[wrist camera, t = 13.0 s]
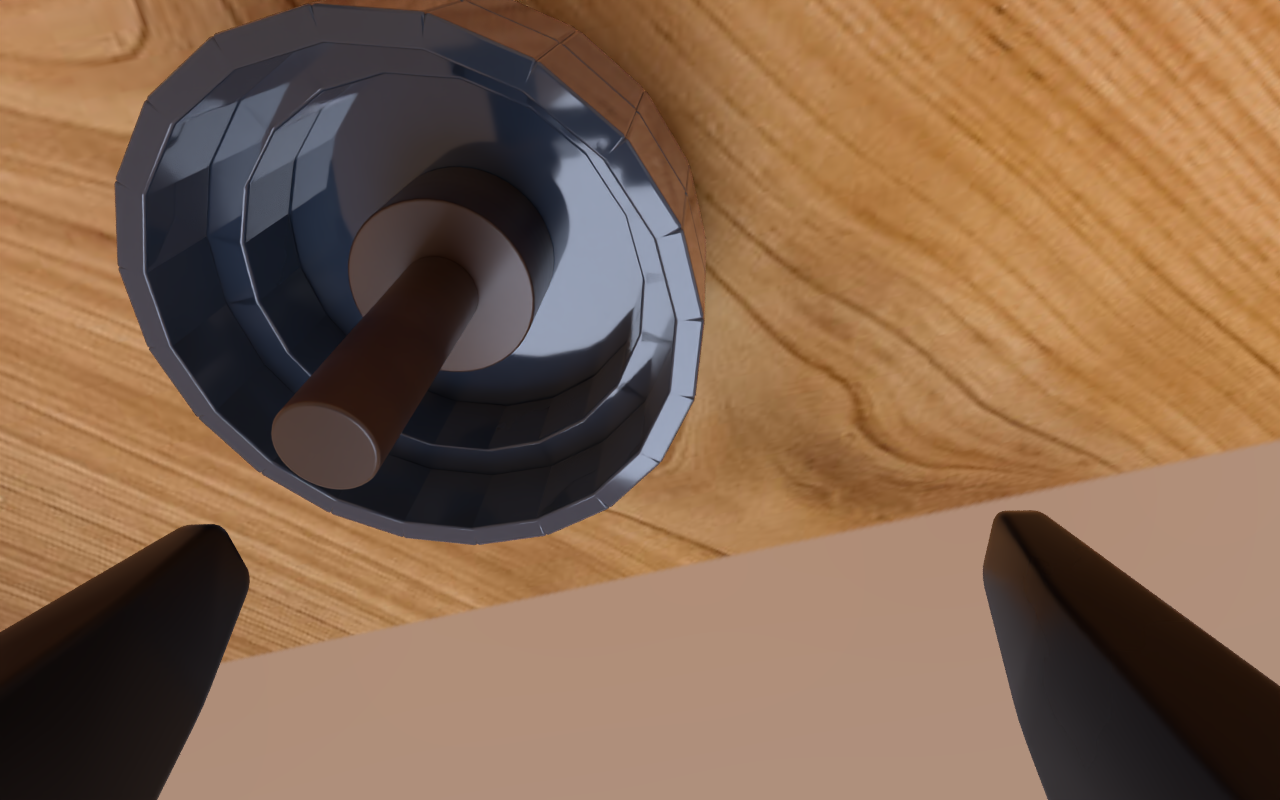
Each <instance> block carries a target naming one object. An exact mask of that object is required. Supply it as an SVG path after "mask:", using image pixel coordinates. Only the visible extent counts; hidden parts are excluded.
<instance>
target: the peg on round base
mask: <svg viewBox="0 0 1280 800" xmlns="http://www.w3.org/2000/svg"><path fill="white" fill-rule="evenodd" d="M553 265H554V256H553V247H552V243H551V239H550V235H549V233H548V230H547V227H546V225H545V223H544V221H543V219H542V218H541V216H540V214H539V213H538V211H537V210H536V208H535V207H534V206H533V205H532V203H531V202H530V201H529V200H528V199H527V198H526V197H525V196H524V195H523V194H522V193H521V192H520V191H519V190H517V189H516V188H515V187H513V186H512V185H510V184H509V183H508V182H506V181H504V180H502V179H501V178H499V177H497V176H495V175H492V174H490V173H487V172H484V171H481V170H477V169H473V168H465V167H447V168H441V169H436V170H433V171H430V172H427V173H425V174H423V175H421V176H419V177H417V178H416V179H414V180H413V181H412V182H410V183H409V184H408V185H407V186H405V187H404V188H403V189H402V190H401V191H400V192H398V193H397V194H396V195H395V196H394V197H392V198H391V199H390V200H389V201H388V202H387V203H385V204H384V205H383V206H382V207H381V208H380V209H378V210H377V211H376V212H375V213H374V214H373V215H371V216H370V217H369V218H368V219H367V220H366V221H365V222H364V224H363V225H362V226H361V228H360V229H359V230H358V232H357V234H356V236H355V238H354V240H353V243H352V246H351V249H350V253H349V260H348V278H349V285H350V289H351V292H352V296H353V299H354V301H355V304H356V306H357V308H358V310H359V312H360V314H361V315H362V317H363V318H362V319H361V320H360V321H359V323H358V324H357V325H356V326H355V327H354V328H353V329H352V330H351V332H350V333H349V334H348V335H347V336H346V337H345V338H344V339H343V341H342V342H341V343H340V344H339V345H338V346H337V347H336V348H335V350H334V351H333V352H332V353H331V354H330V355H329V356H328V357H327V359H326V360H325V361H324V362H323V363H322V364H321V365H320V366H319V367H318V369H317V370H316V371H315V372H314V373H313V374H312V375H311V376H310V378H309V379H308V380H307V381H306V382H305V383H304V384H303V385H302V387H301V388H300V389H299V390H298V391H297V392H296V393H295V394H294V396H293V397H292V398H291V399H290V400H289V401H288V402H287V403H286V405H285V406H284V407H283V408H282V409H281V410H280V411H279V413H278V414H277V415H276V417H275V419H274V421H273V424H272V431H271V436H272V442H273V445H274V448H275V450H276V452H277V454H278V456H279V457H280V458H281V460H282V461H283V462H284V463H285V464H286V466H287V467H289V468H290V469H291V470H292V471H293V472H294V473H296V474H297V475H298V476H300V477H301V478H303V479H305V480H307V481H309V482H311V483H313V484H316V485H319V486H322V487H325V488H330V489H351V488H356V487H359V486H361V485H363V484H365V483H367V482H368V481H370V480H371V479H372V478H373V477H374V476H375V475H376V473H377V472H378V470H379V469H380V467H381V465H382V464H383V462H384V461H385V459H386V457H387V456H388V454H389V452H390V451H391V449H392V447H393V446H394V444H395V443H396V441H397V439H398V438H399V436H400V434H401V433H402V431H403V430H404V428H405V426H406V425H407V423H408V421H409V420H410V418H411V416H412V415H413V413H414V412H415V410H416V408H417V407H418V405H419V403H420V402H421V400H422V399H423V397H424V395H425V394H426V392H427V390H428V389H429V387H430V385H431V384H432V382H433V381H434V379H435V377H436V376H437V374H438V372H439V371H440V370H441V371H449V372H468V371H475V370H480V369H484V368H487V367H489V366H492V365H495V364H497V363H498V362H500V361H502V360H504V359H505V358H507V357H508V356H509V355H511V354H512V353H513V352H514V351H515V350H516V349H517V348H518V347H519V346H520V344H521V343H522V342H523V340H524V339H525V337H526V335H527V333H528V331H529V329H530V327H531V325H532V323H533V321H534V318H535V316H536V314H537V312H538V310H539V307H540V305H541V303H542V301H543V298H544V296H545V294H546V292H547V290H548V287H549V285H550V281H551V278H552V273H553Z"/></svg>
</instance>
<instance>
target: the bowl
mask: <svg viewBox="0 0 1280 800" xmlns="http://www.w3.org/2000/svg"><path fill="white" fill-rule="evenodd" d="M447 167H465V168H473V169H477V170H481V171H484V172H487V173H490V174H492V175H495V176H497V177H499V178H501V179H502V180H504V181H506V182H508V183H509V184H510V185H512V186H513V187H515V188H516V189H517V190H519V191H520V192H521V193H522V194H523V195H524V196H525V197H526V198H527V199H528V200H529V201H530V202H531V203H532V205H533V206H534V207H535V208H536V210H537V211H538V213H539V214H540V216H541V218H542V219H543V221H544V223H545V225H546V227H547V230H548V233H549V235H550V239H551V243H552V247H553V256H554V265H553V273H552V278H551V281H550V285H549V287H548V290H547V292H546V294H545V296H544V298H543V301H542V303H541V305H540V307H539V310H538V312H537V314H536V316H535V318H534V321H533V323H532V325H531V327H530V329H529V331H528V333H527V335H526V337H525V339H524V340H523V342H522V343H521V344H520V346H519V347H518V348H517V349H516V350H515V351H514V352H513V353H512V354H511V355H509V356H508V357H507V358H505V359H504V360H502V361H500V362H498V363H497V364H495V365H492V366H489V367H487V368H484V369H480V370H475V371H468V372H449V371H441V370H440V371H439V372H438V374H437V376H436V377H435V379H434V381H433V382H432V384H431V385H430V387H429V389H428V390H427V392H426V394H425V395H424V397H423V399H422V400H421V402H420V403H419V405H418V407H417V408H416V410H415V412H414V413H413V415H412V416H411V418H410V420H409V421H408V423H407V425H406V426H405V428H404V430H403V431H402V433H401V434H400V436H399V438H398V439H397V441H396V443H395V444H394V446H393V447H392V449H391V451H390V452H389V454H388V456H387V457H386V459H385V461H384V462H383V464H382V465H381V467H380V469H379V470H378V472H377V473H376V475H375V476H374V477H373V478H372V479H371V480H370V481H368V482H367V483H365V484H363V485H361V486H359V487H356V488H351V489H330V488H325V487H322V486H319V485H316V484H313V483H311V482H309V481H307V480H305V479H303V478H301V477H300V476H298V475H297V474H296V473H294V472H293V471H292V470H291V469H290V468H289V467H287V466H286V464H285V463H284V462H283V461H282V460H281V458H280V457H279V456H278V454H277V452H276V450H275V448H274V445H273V442H272V436H271V431H272V424H273V421H274V419H275V417H276V415H277V414H278V413H279V411H280V410H281V409H282V408H283V407H284V406H285V405H286V403H287V402H288V401H289V400H290V399H291V398H292V397H293V396H294V394H295V393H296V392H297V391H298V390H299V389H300V388H301V387H302V385H303V384H304V383H305V382H306V381H307V380H308V379H309V378H310V376H311V375H312V374H313V373H314V372H315V371H316V370H317V369H318V367H319V366H320V365H321V364H322V363H323V362H324V361H325V360H326V359H327V357H328V356H329V355H330V354H331V353H332V352H333V351H334V350H335V348H336V347H337V346H338V345H339V344H340V343H341V342H342V341H343V339H344V338H345V337H346V336H347V335H348V334H349V333H350V332H351V330H352V329H353V328H354V327H355V326H356V325H357V324H358V323H359V321H360V320H361V319H362V318H363V317H362V315H361V314H360V312H359V310H358V308H357V306H356V304H355V301H354V299H353V296H352V292H351V289H350V285H349V278H348V260H349V253H350V249H351V246H352V243H353V240H354V238H355V236H356V234H357V232H358V230H359V229H360V228H361V226H362V225H363V224H364V222H365V221H366V220H367V219H368V218H369V217H370V216H371V215H373V214H374V213H375V212H376V211H377V210H378V209H380V208H381V207H382V206H383V205H384V204H385V203H387V202H388V201H389V200H390V199H391V198H392V197H394V196H395V195H396V194H397V193H398V192H400V191H401V190H402V189H403V188H404V187H405V186H407V185H408V184H409V183H410V182H412V181H413V180H414V179H416V178H417V177H419V176H421V175H423V174H425V173H427V172H430V171H433V170H436V169H441V168H447ZM116 180H117V181H116V182H115V207H116V234H117V260H118V266H119V272H120V274H121V277H122V280H123V282H124V285H125V288H126V291H127V293H128V296H129V299H130V301H131V304H132V307H133V309H134V312H135V315H136V317H137V320H138V323H139V325H140V328H141V331H142V333H143V336H144V339H145V341H146V344H147V346H148V347H149V350H150V352H151V353H152V354H153V356H154V357H155V359H156V360H157V361H158V363H159V364H160V366H161V367H162V368H163V370H164V371H165V373H166V374H167V375H168V377H169V378H170V380H171V381H172V383H173V384H174V385H175V387H176V388H177V390H178V391H179V392H180V394H181V395H182V397H183V398H184V399H185V401H186V402H187V404H188V405H189V406H190V408H191V409H192V411H193V412H194V413H195V415H196V416H197V417H199V419H200V420H201V421H202V422H203V423H204V424H205V425H206V426H208V427H209V428H210V429H211V430H212V431H213V432H214V433H215V434H216V435H218V436H219V437H220V438H221V439H222V440H223V441H224V442H225V443H227V444H228V445H229V446H230V447H231V448H232V449H233V450H234V451H236V452H237V453H238V454H239V455H240V456H241V457H242V458H243V459H244V460H246V461H247V462H248V463H249V464H250V465H251V466H252V467H253V468H255V469H256V470H257V471H258V472H262V474H263V475H264V476H266V477H268V478H269V479H271V480H273V481H275V482H276V483H278V484H280V485H282V486H283V487H285V488H287V489H289V490H290V491H292V492H294V493H296V494H297V495H299V496H301V497H302V498H304V499H306V500H308V501H309V502H311V503H313V504H315V505H316V506H318V507H320V508H322V509H323V510H325V511H327V512H331V513H332V514H333V515H337V516H340V517H343V518H346V519H349V520H352V521H355V522H358V523H361V524H364V525H367V526H370V527H373V528H376V529H379V530H382V531H385V532H388V533H391V534H394V535H397V536H400V537H403V536H404V537H405V538H412V539H422V540H431V541H441V542H451V543H460V544H470V545H476V544H479V545H481V544H488V543H495V542H503V541H510V540H517V539H525V538H532V537H539V536H545V535H546V534H547V535H549V534H551V533H554V532H556V531H558V530H561V529H563V528H565V527H567V526H570V525H572V524H574V523H577V522H579V521H581V520H584V519H586V518H588V517H590V516H593V515H595V514H597V513H600V512H602V511H604V510H606V509H608V508H609V507H611V506H613V505H614V504H615V503H616V502H617V501H618V500H619V499H620V498H622V497H623V496H624V495H625V494H626V493H627V492H628V491H629V490H630V489H632V488H633V487H634V486H635V485H636V484H637V483H638V482H639V481H641V480H642V479H643V478H644V477H645V476H646V475H647V474H648V473H649V472H651V471H652V470H653V469H654V468H655V467H656V466H657V465H658V464H659V463H660V462H661V461H662V460H663V458H664V457H665V455H666V453H667V451H668V449H669V447H670V445H671V443H672V441H673V440H674V438H675V436H676V434H677V432H678V430H679V428H680V426H681V424H682V423H683V421H684V419H685V417H686V415H687V413H688V411H689V409H690V407H691V405H692V404H693V402H694V397H695V395H696V388H697V380H698V371H699V363H700V354H701V346H702V338H703V329H704V319H705V274H706V236H705V231H704V227H703V222H702V218H701V213H700V209H699V204H698V200H697V195H696V191H695V186H694V182H693V177H692V172H691V168H690V165H688V161H687V159H686V157H685V155H684V154H683V152H682V150H681V149H680V147H679V145H678V144H677V142H676V140H675V138H674V137H673V135H672V133H671V132H670V130H669V128H668V127H667V125H666V123H665V121H664V120H663V118H662V116H661V115H660V113H659V111H658V110H657V108H656V106H655V104H654V103H653V101H652V99H651V98H650V96H649V94H648V93H647V92H646V91H644V89H643V87H642V86H641V85H640V84H638V83H637V82H636V81H635V80H634V79H633V78H632V77H631V76H630V75H628V74H627V73H626V72H625V71H624V70H623V69H622V68H621V67H619V66H618V65H617V64H616V63H615V62H614V61H613V60H612V59H611V58H609V57H608V56H607V55H606V54H605V53H604V52H603V51H602V50H601V49H599V48H598V47H597V46H596V45H595V44H594V43H593V42H592V41H590V40H589V39H588V38H587V37H586V36H585V35H584V34H583V33H582V32H580V31H576V29H575V28H574V27H573V26H571V25H568V24H566V23H564V22H561V21H559V20H557V19H555V18H552V17H550V16H548V15H546V14H543V13H541V12H539V11H537V10H534V9H532V8H530V7H527V6H525V5H523V4H521V3H518V2H516V1H514V0H322V1H317V2H312V3H307V4H304V5H301V6H298V7H295V8H292V9H289V10H286V11H283V12H279V13H276V14H273V15H270V16H267V17H264V18H261V19H258V20H255V21H252V22H249V23H246V24H243V25H240V26H237V27H234V28H230V29H227V30H224V31H221V32H218V33H215V35H214V36H212V37H209V38H208V39H207V40H206V41H205V42H204V43H203V44H202V45H201V46H200V47H199V48H198V49H197V50H196V51H195V52H194V53H193V54H192V55H191V56H189V57H188V58H187V59H186V60H185V61H184V62H183V63H182V64H181V65H180V66H179V67H178V68H177V69H176V70H175V71H174V72H173V73H172V74H171V75H170V76H168V77H167V78H166V79H165V80H164V81H163V82H162V83H161V84H160V85H159V86H158V87H157V88H156V89H155V90H154V91H153V92H152V93H151V94H150V95H149V96H148V97H147V100H146V101H145V102H144V104H143V107H142V109H141V112H140V115H139V117H138V120H137V123H136V125H135V128H134V131H133V133H132V136H131V139H130V142H129V144H128V147H127V150H126V152H125V155H124V158H123V160H122V163H121V166H120V168H119V171H118V174H117V176H116Z"/></svg>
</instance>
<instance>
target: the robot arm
mask: <svg viewBox="0 0 1280 800" xmlns="http://www.w3.org/2000/svg"><path fill="white" fill-rule="evenodd" d="M983 581H984V586H985V591H986V595H987V599H988V603H989V607H990V611H991V615H992V619H993V623H994V627H995V630H996V635H997V639H998V642H999V646H1000V650H1001V654H1002V658H1003V662H1004V666H1005V670H1006V674H1007V678H1008V682H1009V686H1010V690H1011V694H1012V698H1013V701H1014V705H1015V709H1016V712H1017V716H1018V720H1019V723H1020V725H1021V728H1022V731H1023V734H1024V737H1025V740H1026V743H1027V745H1028V748H1029V751H1030V753H1031V756H1032V759H1033V761H1034V764H1035V767H1036V769H1037V772H1038V775H1039V777H1040V780H1041V783H1042V785H1043V788H1044V790H1045V793H1046V796H1047V799H1048V800H1280V686H1279V685H1277V684H1276V683H1275V682H1273V681H1272V680H1271V679H1269V678H1268V677H1267V676H1265V675H1264V674H1263V673H1261V672H1260V671H1258V670H1257V669H1256V668H1254V667H1253V666H1252V665H1250V664H1249V663H1247V662H1246V661H1245V660H1243V659H1242V658H1240V657H1239V656H1238V655H1236V654H1235V653H1234V652H1232V651H1231V650H1230V649H1228V648H1227V647H1225V646H1224V645H1223V644H1222V643H1220V642H1219V641H1217V640H1216V639H1215V638H1213V637H1212V636H1211V635H1209V634H1208V633H1206V632H1205V631H1203V630H1202V629H1201V628H1199V627H1198V626H1197V625H1196V624H1194V623H1193V622H1191V621H1190V620H1189V619H1187V618H1186V617H1184V616H1183V615H1182V614H1180V613H1179V612H1178V611H1176V610H1175V609H1174V608H1172V607H1171V606H1169V605H1168V604H1167V603H1165V602H1164V601H1163V600H1161V599H1160V598H1158V597H1157V596H1156V595H1154V594H1153V593H1152V592H1150V591H1149V590H1148V589H1146V588H1145V587H1144V586H1142V585H1141V584H1139V583H1138V582H1137V581H1135V580H1134V579H1132V578H1131V577H1130V576H1128V575H1127V574H1126V573H1124V572H1123V571H1122V570H1120V569H1119V568H1117V567H1116V566H1115V565H1113V564H1112V563H1111V562H1109V561H1108V560H1106V559H1105V558H1104V557H1103V556H1101V555H1100V554H1098V553H1097V552H1096V551H1094V550H1093V549H1092V548H1090V547H1089V546H1088V545H1086V544H1085V543H1083V542H1082V541H1081V540H1079V539H1078V538H1077V537H1075V536H1074V535H1072V534H1071V533H1070V532H1068V531H1067V530H1066V529H1064V528H1063V527H1062V526H1060V525H1059V524H1057V523H1056V522H1055V521H1053V520H1052V519H1050V518H1049V517H1048V516H1046V515H1045V514H1043V513H1041V512H1038V511H1032V510H1029V511H1002V512H1000V513H998V514H997V515H996V517H995V519H994V521H993V524H992V529H991V533H990V538H989V543H988V546H987V551H986V555H985V560H984V565H983ZM249 583H250V579H249V572H248V569H247V567H246V565H245V564H244V562H243V560H242V558H241V556H240V555H239V553H238V551H237V549H236V548H235V546H234V544H233V542H232V540H231V539H230V537H229V535H228V533H227V532H226V531H225V529H223V528H222V527H220V526H219V525H215V524H199V525H186V526H183V527H180V528H178V529H176V530H175V531H173V532H171V533H170V534H168V535H166V536H164V537H163V538H161V539H159V540H158V541H156V542H154V543H152V544H151V545H149V546H147V547H146V548H144V549H142V550H140V551H139V552H137V553H135V554H134V555H132V556H130V557H128V558H127V559H125V560H123V561H122V562H120V563H118V564H116V565H115V566H113V567H111V568H110V569H108V570H106V571H104V572H103V573H101V574H99V575H98V576H96V577H94V578H92V579H91V580H89V581H87V582H86V583H84V584H82V585H80V586H79V587H77V588H75V589H74V590H72V591H70V592H68V593H67V594H65V595H63V596H62V597H60V598H58V599H56V600H55V601H53V602H51V603H50V604H48V605H46V606H44V607H43V608H41V609H39V610H38V611H36V612H34V613H32V614H31V615H29V616H27V617H26V618H24V619H22V620H20V621H19V622H17V623H15V624H14V625H12V626H10V627H8V628H7V629H5V630H3V631H2V632H0V800H157V799H158V797H159V795H160V793H161V791H162V789H163V787H164V785H165V783H166V781H167V779H168V777H169V775H170V773H171V771H172V769H173V767H174V765H175V763H176V761H177V759H178V757H179V755H180V752H181V751H182V749H183V747H184V745H185V743H186V741H187V739H188V737H189V735H190V733H191V731H192V729H193V727H194V724H195V722H196V720H197V718H198V716H199V714H200V712H201V709H202V707H203V705H204V703H205V700H206V698H207V695H208V693H209V691H210V688H211V685H212V683H213V680H214V678H215V675H216V673H217V670H218V668H219V665H220V662H221V660H222V657H223V655H224V652H225V649H226V647H227V644H228V642H229V639H230V636H231V634H232V631H233V629H234V626H235V623H236V621H237V618H238V616H239V613H240V610H241V608H242V605H243V603H244V600H245V598H246V595H247V592H248V589H249Z"/></svg>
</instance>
